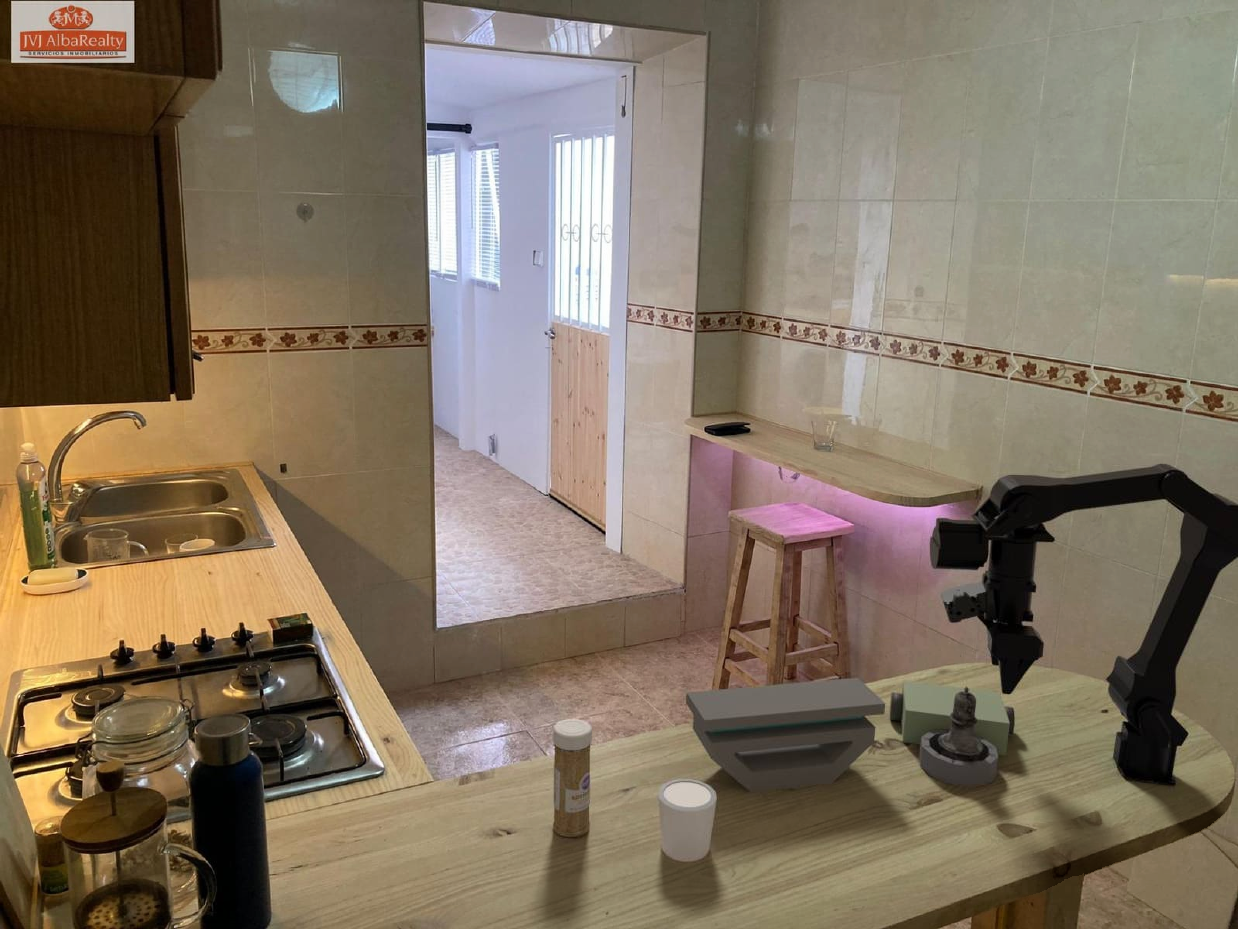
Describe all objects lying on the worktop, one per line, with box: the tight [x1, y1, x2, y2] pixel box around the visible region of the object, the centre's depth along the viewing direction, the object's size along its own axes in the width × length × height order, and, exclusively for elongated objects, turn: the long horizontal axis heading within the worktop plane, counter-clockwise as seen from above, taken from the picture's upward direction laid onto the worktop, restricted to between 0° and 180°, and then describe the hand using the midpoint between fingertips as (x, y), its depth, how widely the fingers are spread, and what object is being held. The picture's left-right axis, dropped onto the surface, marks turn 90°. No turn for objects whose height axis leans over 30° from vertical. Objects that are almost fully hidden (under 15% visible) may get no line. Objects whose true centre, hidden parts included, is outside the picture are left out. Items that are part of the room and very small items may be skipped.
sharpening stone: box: [685, 677, 886, 793], centre depth 129 cm, size 25×8×11 cm, turn 103°
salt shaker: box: [938, 686, 983, 762], centre depth 131 cm, size 6×6×12 cm
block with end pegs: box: [889, 680, 1016, 788], centre depth 137 cm, size 17×20×5 cm
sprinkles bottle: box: [552, 718, 593, 838], centre depth 115 cm, size 5×5×14 cm
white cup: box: [657, 778, 718, 863], centre depth 113 cm, size 7×7×7 cm
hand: (1000, 678), depth 132 cm, fingers open, 9 cm apart
